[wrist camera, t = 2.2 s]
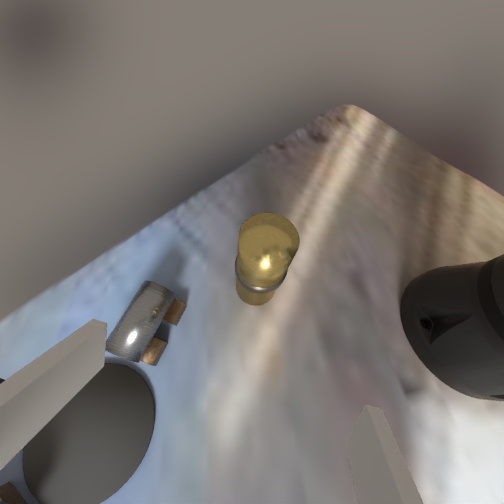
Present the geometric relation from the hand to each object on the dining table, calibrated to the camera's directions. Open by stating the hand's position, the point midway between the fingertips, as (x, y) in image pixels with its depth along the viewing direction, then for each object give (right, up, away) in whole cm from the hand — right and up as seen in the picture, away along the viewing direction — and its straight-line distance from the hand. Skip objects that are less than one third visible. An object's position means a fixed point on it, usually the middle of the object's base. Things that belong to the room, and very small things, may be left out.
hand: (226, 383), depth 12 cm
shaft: (-10, -2, +15) cm, 18 cm away
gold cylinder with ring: (+2, +2, +18) cm, 18 cm away
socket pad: (-14, -10, +10) cm, 20 cm away
